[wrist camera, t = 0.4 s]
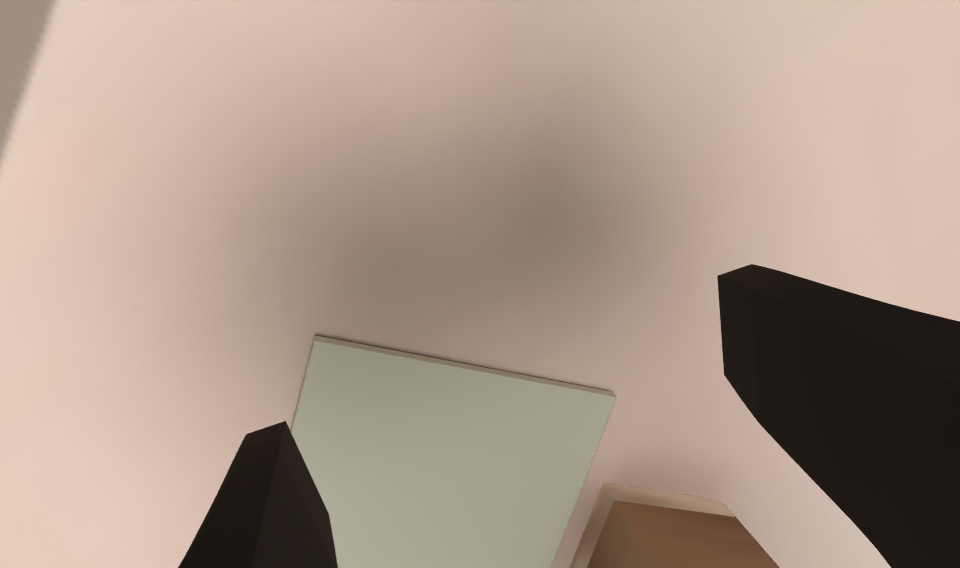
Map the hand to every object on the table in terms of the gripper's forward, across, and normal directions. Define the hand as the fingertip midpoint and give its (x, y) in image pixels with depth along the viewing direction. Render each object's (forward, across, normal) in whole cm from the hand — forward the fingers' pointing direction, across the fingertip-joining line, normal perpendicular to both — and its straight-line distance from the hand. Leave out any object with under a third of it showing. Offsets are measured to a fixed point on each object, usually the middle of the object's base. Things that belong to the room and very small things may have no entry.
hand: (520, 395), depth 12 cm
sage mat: (+9, +3, +11) cm, 15 cm away
